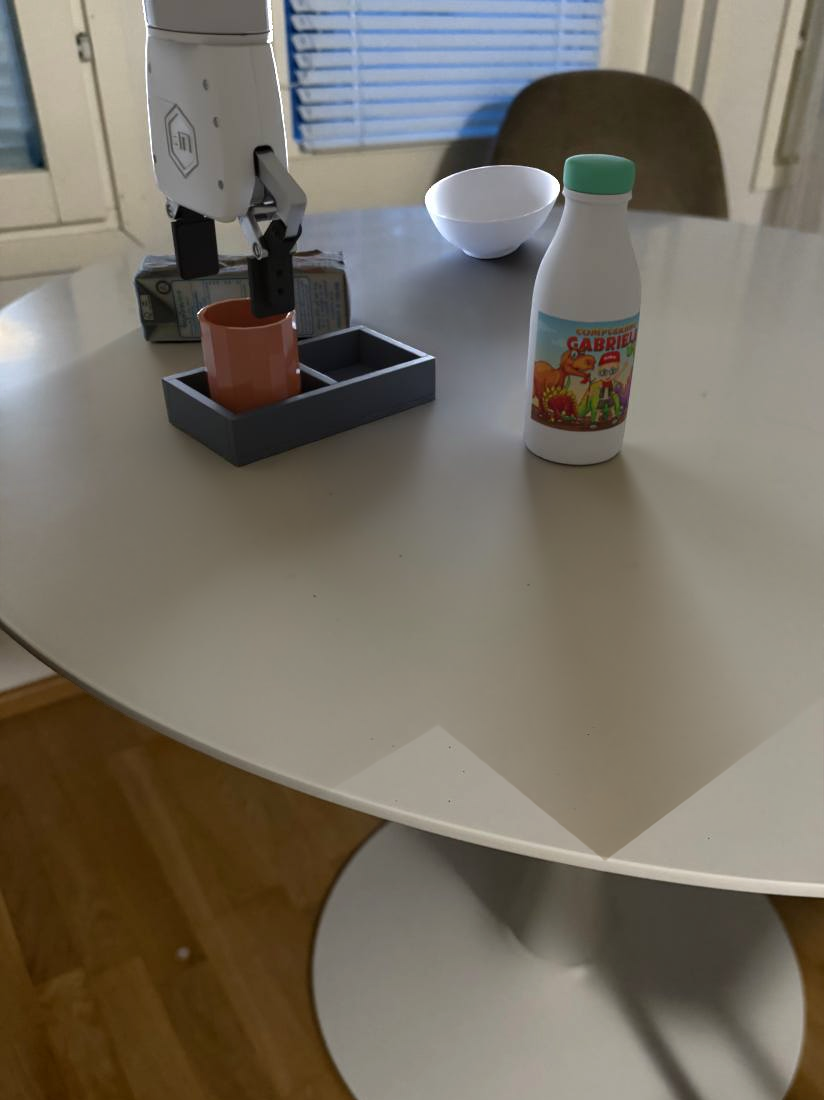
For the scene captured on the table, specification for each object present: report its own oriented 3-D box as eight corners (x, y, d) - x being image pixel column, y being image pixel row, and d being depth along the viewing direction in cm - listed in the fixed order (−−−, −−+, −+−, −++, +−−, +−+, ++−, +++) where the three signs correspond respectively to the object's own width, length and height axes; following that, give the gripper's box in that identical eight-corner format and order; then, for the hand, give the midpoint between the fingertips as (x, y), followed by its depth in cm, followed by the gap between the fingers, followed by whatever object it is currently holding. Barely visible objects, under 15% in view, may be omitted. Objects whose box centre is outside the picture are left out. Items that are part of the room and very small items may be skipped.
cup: (196, 413, 74) (180, 310, 69) (270, 391, 78) (260, 291, 73) (244, 443, 70) (230, 336, 65) (320, 418, 74) (312, 315, 69)
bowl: (461, 210, 130) (462, 161, 127) (570, 220, 128) (574, 170, 124) (399, 272, 107) (398, 215, 103) (530, 286, 105) (534, 228, 101)
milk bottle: (501, 439, 74) (516, 154, 62) (572, 415, 78) (599, 143, 66) (571, 477, 69) (601, 177, 57) (643, 449, 73) (685, 164, 61)
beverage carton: (153, 315, 93) (141, 244, 89) (351, 313, 96) (348, 244, 92) (142, 344, 87) (129, 270, 83) (354, 341, 90) (351, 269, 86)
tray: (168, 422, 74) (161, 377, 72) (362, 364, 85) (360, 324, 83) (237, 467, 69) (231, 420, 67) (435, 399, 79) (435, 357, 77)
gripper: (83, -5, 61) (127, 271, 71) (231, 28, 51) (257, 342, 61) (189, -5, 65) (216, 255, 75) (344, 26, 55) (350, 319, 66)
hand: (235, 294), depth 68 cm, fingers open, 9 cm apart
